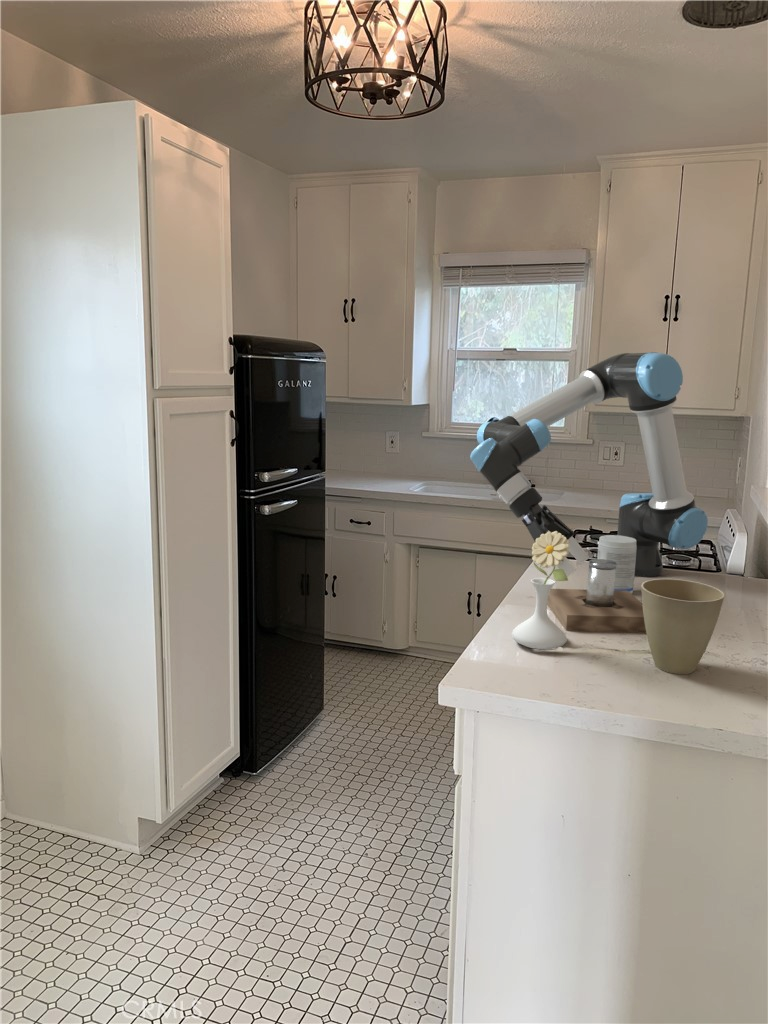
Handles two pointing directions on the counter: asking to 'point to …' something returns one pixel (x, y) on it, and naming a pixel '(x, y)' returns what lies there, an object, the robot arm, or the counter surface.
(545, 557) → the flower in vase
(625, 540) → the supplement tub
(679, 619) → the plant pot
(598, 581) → the silver capped jar
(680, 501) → the robot arm
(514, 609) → the counter surface
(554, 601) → the walnut socket block
